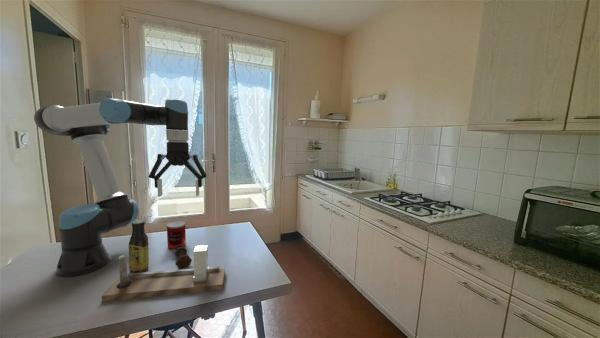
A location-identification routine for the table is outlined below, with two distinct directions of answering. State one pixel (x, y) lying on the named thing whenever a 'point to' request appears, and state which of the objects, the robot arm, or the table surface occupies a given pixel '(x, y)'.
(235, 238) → the table surface
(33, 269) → the table surface
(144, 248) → the sauce bottle
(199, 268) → the block
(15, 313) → the table surface
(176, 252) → the bolt
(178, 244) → the canned food
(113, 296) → the board
